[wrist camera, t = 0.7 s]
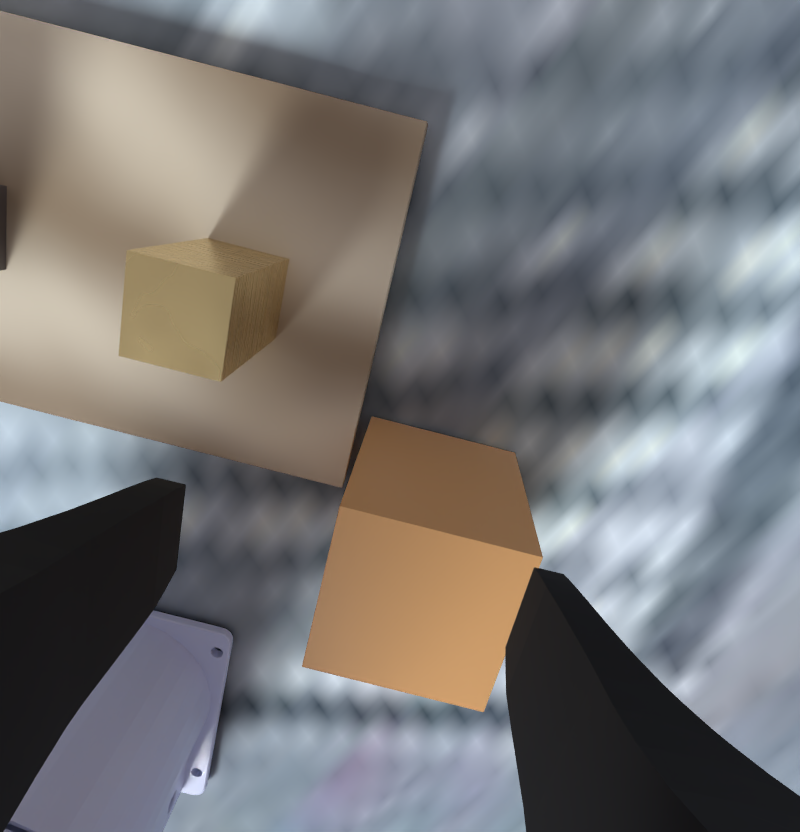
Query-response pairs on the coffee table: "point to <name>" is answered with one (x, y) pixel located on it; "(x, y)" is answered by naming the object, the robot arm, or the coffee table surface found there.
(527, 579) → the orange rectangular block
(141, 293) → the brass post
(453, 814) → the coffee table surface
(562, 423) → the coffee table surface
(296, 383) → the post board
